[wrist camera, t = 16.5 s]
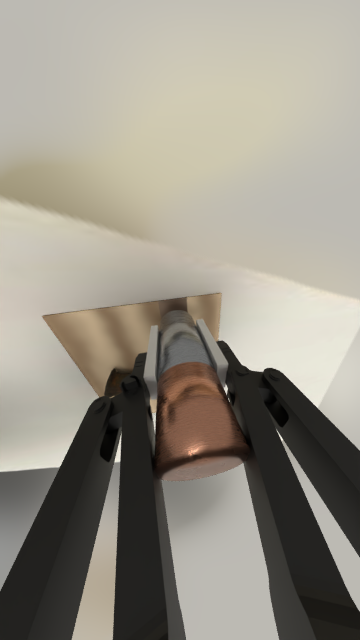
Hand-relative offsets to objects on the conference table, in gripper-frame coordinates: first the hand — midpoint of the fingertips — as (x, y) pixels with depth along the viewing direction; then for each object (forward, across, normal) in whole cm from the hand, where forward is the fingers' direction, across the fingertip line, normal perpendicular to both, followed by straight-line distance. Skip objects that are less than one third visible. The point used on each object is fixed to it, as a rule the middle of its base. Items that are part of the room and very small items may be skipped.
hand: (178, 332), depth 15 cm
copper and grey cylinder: (+1, 0, 0) cm, 1 cm away
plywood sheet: (+5, -5, -12) cm, 13 cm away
